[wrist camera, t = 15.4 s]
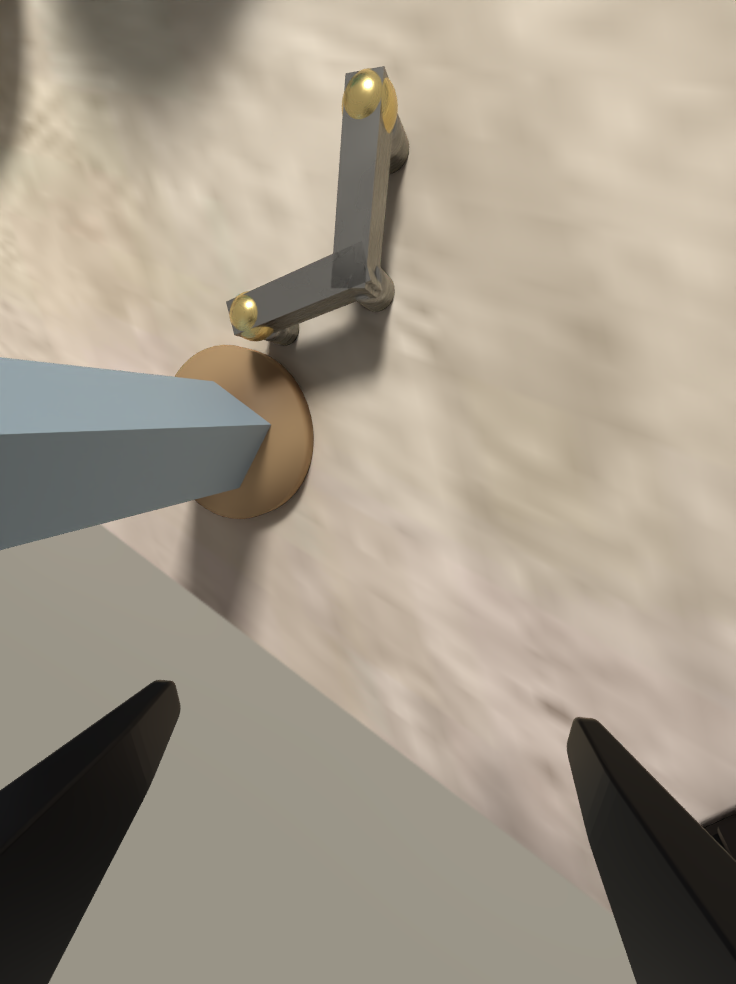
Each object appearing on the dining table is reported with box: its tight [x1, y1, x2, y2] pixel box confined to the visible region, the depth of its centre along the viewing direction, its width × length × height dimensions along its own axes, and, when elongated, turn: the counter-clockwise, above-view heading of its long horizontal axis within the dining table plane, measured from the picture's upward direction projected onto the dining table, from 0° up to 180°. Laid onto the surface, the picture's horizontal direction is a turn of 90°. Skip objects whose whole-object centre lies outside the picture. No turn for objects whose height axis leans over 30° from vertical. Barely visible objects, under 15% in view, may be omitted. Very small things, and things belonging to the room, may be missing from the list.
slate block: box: [0, 357, 271, 550], centre depth 15 cm, size 4×4×12 cm
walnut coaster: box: [175, 345, 313, 519], centre depth 21 cm, size 9×9×1 cm
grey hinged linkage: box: [226, 66, 409, 345], centre depth 16 cm, size 5×10×4 cm, turn 140°
